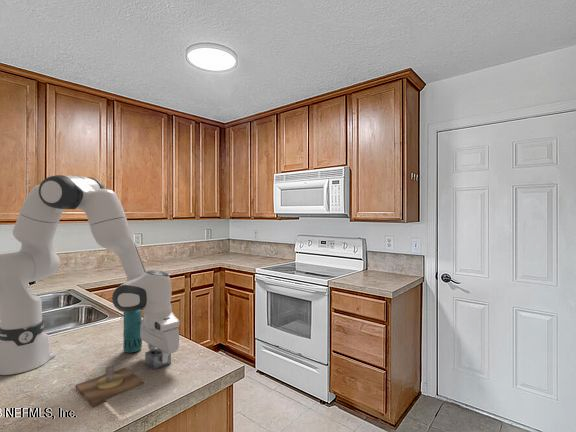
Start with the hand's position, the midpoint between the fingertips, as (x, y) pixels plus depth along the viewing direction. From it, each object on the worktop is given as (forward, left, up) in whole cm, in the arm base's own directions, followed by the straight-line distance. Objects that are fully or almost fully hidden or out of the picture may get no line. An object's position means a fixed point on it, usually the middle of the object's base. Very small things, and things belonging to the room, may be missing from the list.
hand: (158, 358), depth 110 cm
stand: (0, 0, -2) cm, 2 cm away
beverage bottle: (-17, -1, -3) cm, 17 cm away
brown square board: (+2, -16, -2) cm, 16 cm away
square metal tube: (0, 0, -2) cm, 2 cm away
